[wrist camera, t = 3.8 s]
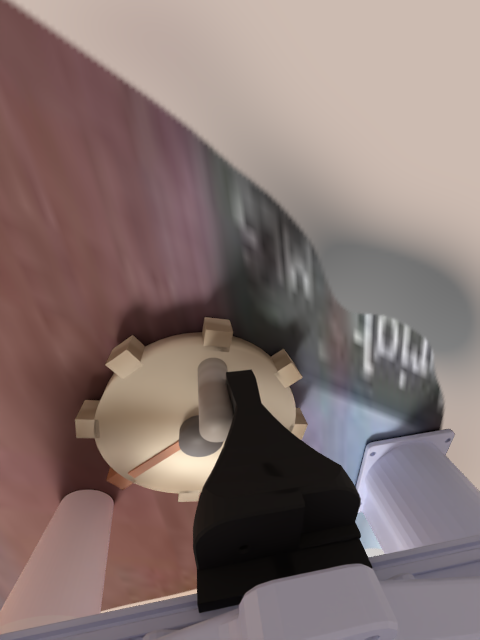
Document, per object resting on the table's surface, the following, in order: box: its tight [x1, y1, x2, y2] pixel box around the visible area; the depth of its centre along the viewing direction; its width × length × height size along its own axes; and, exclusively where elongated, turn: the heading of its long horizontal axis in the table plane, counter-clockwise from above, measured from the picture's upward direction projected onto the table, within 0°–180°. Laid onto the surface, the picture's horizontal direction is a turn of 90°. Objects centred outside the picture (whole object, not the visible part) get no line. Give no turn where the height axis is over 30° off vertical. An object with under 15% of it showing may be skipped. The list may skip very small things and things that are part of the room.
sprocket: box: [75, 317, 308, 502], centre depth 15 cm, size 14×14×6 cm
